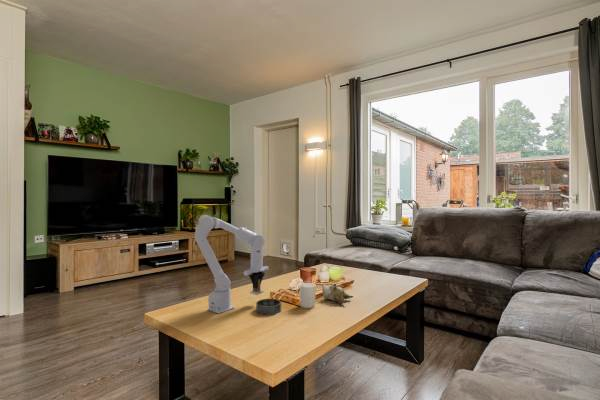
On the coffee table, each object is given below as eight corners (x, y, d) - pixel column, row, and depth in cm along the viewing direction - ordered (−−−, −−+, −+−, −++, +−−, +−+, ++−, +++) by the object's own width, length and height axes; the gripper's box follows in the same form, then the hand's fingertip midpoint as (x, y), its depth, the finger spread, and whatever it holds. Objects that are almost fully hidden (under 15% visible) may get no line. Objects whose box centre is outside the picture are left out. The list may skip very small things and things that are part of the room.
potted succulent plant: (327, 279, 172) (354, 284, 165) (326, 295, 173) (353, 301, 165) (318, 284, 163) (346, 290, 156) (317, 301, 164) (345, 308, 156)
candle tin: (269, 316, 143) (269, 308, 143) (251, 310, 150) (251, 303, 150) (285, 309, 152) (285, 302, 152) (268, 304, 158) (268, 297, 158)
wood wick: (256, 294, 155) (256, 280, 155) (249, 293, 158) (248, 279, 158) (264, 292, 159) (263, 278, 159) (256, 290, 162) (256, 276, 162)
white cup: (314, 309, 152) (314, 287, 152) (297, 307, 154) (297, 286, 154) (317, 303, 160) (317, 283, 160) (301, 302, 162) (301, 282, 161)
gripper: (251, 263, 150) (251, 292, 150) (273, 258, 161) (273, 286, 162) (240, 261, 154) (240, 290, 155) (262, 256, 166) (262, 283, 166)
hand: (256, 287), depth 158 cm, fingers closed on wood wick
